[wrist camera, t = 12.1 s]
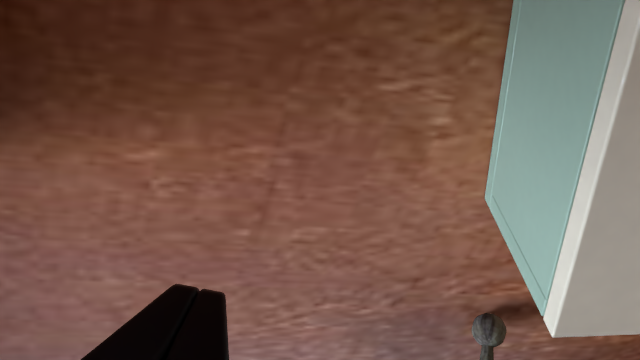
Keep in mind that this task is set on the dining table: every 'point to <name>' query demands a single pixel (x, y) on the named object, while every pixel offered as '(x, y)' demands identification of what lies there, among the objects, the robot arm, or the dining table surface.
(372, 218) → the dining table surface
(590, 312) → the lid
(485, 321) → the tabletop clock
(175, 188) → the dining table surface
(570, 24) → the keepsake box
